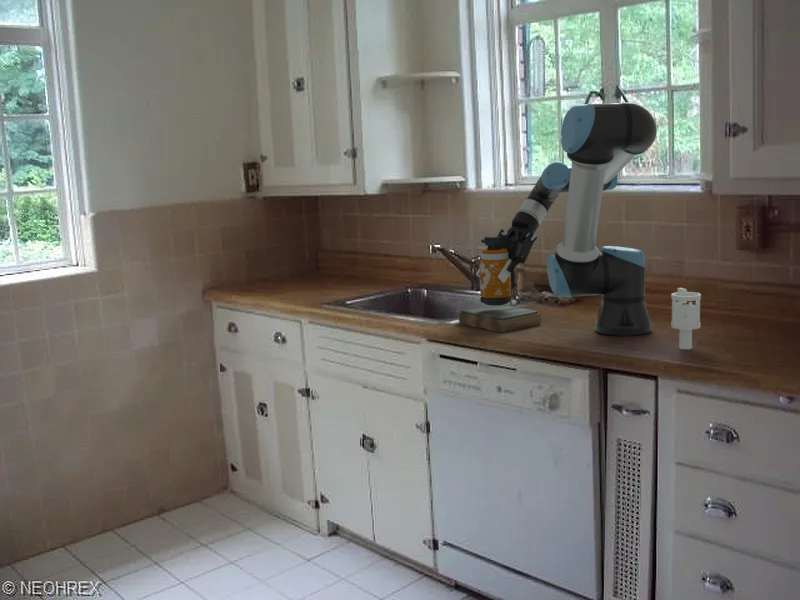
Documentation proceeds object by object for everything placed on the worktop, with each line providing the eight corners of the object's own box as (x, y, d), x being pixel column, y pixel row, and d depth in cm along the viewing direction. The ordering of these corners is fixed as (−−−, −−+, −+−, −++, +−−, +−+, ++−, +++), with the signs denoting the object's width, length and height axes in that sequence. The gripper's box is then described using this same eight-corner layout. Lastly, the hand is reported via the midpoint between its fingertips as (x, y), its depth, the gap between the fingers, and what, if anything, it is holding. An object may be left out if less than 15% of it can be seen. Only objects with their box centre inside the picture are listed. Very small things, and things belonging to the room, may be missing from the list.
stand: (540, 324, 270) (540, 311, 269) (502, 332, 261) (502, 318, 260) (496, 316, 285) (496, 303, 284) (459, 323, 276) (458, 310, 276)
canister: (475, 302, 274) (473, 235, 270) (507, 298, 278) (506, 232, 275) (489, 307, 266) (488, 238, 262) (523, 303, 270) (522, 234, 267)
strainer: (692, 344, 238) (692, 286, 236) (705, 350, 231) (706, 290, 229) (666, 346, 237) (666, 288, 234) (678, 352, 230) (679, 292, 228)
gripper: (561, 228, 269) (522, 290, 262) (510, 224, 286) (472, 282, 279) (548, 211, 265) (508, 274, 258) (497, 208, 282) (458, 267, 275)
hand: (490, 278), depth 269 cm, fingers closed on canister, 9 cm apart
